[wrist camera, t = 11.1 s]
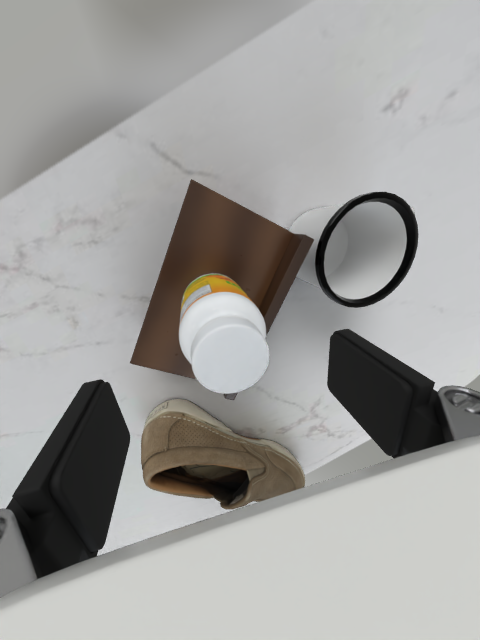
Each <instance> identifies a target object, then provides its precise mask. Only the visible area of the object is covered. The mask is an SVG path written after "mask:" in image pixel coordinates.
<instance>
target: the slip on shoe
mask: <svg viewBox="0 0 480 640" xmlns="http://www.w3.org/2000/svg"><path fill="white" fill-rule="evenodd" d="M141 464H142V469H143V478H144V482H145V484H146V486H148V487H149V488H151V489H153V490H156V491H160V492H164V493H168V494H173V495H178V496H187V497H194V498H205V499H210V498H215V499H216V500H218V501H220V502H221V503H220V505H221V507H222V508H224V509H235V508H238V507H242V506H245V505H247V504H248V503H250V502H252V501H257V502H260V501H264V500H267V499H270V498H273V497H276V496H279V495H282V494H285V493H288V492H291V491H294V490H297V489H300V488H304V485H305V475H304V473H303V470H302V468H301V466H300V464H299V463H298V461H297V460H296V459H295V458H294V456H293V455H292V454H291V453H290V452H289V451H288V450H287V449H286V448H284V447H283V446H282V445H280V444H278V443H276V442H274V441H271V440H267V439H257V438H248V437H245V436H241V435H238V434H236V433H233V431H232V430H231V429H229V428H228V427H226V426H225V425H224V424H223V423H222V422H220V421H218V420H217V419H215V418H214V417H212V416H211V415H210V414H208V413H207V412H205V411H204V410H203V409H201V408H200V407H198V406H197V405H195V404H194V403H192V402H190V401H187V400H183V399H173V400H168V401H166V402H164V403H162V404H160V405H158V406H157V407H156V408H155V409H154V410H153V411H152V412H151V413H150V415H149V416H148V418H147V420H146V422H145V426H144V430H143V434H142V440H141Z"/></svg>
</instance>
